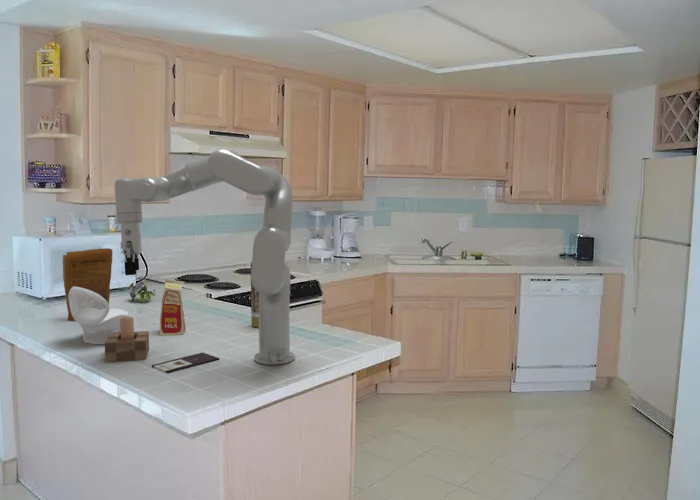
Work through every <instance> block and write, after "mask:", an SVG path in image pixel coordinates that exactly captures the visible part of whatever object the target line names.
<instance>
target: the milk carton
mask: <svg viewBox="0 0 700 500" xmlns="http://www.w3.org/2000/svg"><path fill="white" fill-rule="evenodd" d="M163 280H164V291H163V295H162V298H161V305H160V306H161V307H160V316H159V336H160V337H164V336H166V337H167V336H176V335H178V336H179V335H184V334H185V333H186V331H187V327H186V321H185V314H184V308H183V307H184V306H183V300H182V299H183V298H182V293H181V292H182V291H181V290H182V287H183V285H184V283H185V281H179V280H172V279H167V278H164V279H163Z"/></svg>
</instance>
